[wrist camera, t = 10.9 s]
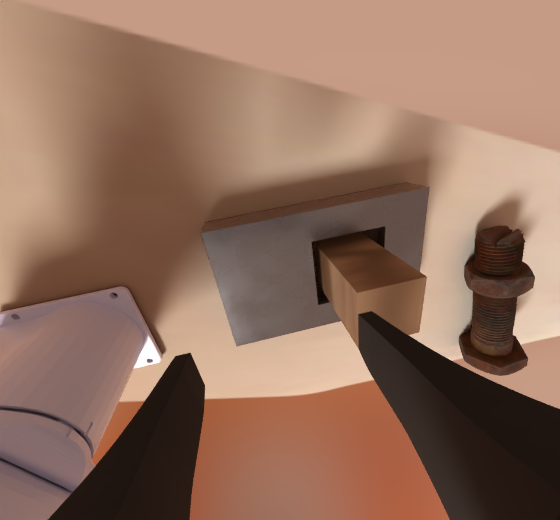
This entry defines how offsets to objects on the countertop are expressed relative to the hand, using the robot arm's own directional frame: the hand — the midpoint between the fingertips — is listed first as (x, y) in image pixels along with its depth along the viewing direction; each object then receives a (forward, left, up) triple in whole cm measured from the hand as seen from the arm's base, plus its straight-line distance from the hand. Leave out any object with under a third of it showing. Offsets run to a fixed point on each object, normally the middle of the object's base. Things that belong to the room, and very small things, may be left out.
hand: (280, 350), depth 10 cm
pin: (+7, -2, -10) cm, 12 cm away
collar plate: (+5, -2, -10) cm, 12 cm away
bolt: (+22, -9, -11) cm, 26 cm away
